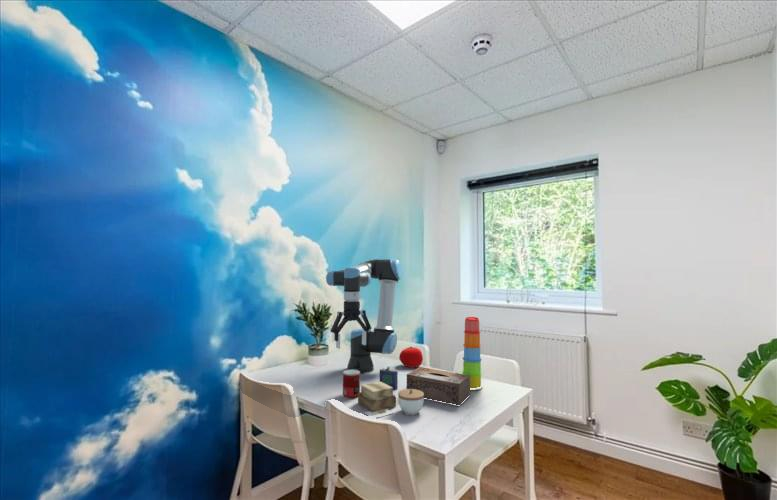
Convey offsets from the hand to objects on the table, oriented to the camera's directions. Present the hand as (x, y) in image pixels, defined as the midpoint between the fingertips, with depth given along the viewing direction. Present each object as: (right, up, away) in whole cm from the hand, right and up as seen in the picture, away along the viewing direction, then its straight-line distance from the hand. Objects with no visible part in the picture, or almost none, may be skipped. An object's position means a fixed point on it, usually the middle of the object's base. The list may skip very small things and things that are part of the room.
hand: (351, 346), depth 172 cm
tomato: (+31, -25, +48) cm, 62 cm away
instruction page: (+13, -22, -21) cm, 33 cm away
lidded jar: (+27, -23, -19) cm, 40 cm away
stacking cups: (+59, -24, +12) cm, 65 cm away
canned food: (0, -23, -1) cm, 23 cm away
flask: (+17, -23, +10) cm, 31 cm away
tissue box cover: (+41, -23, 0) cm, 47 cm away
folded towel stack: (+12, -22, -12) cm, 28 cm away
